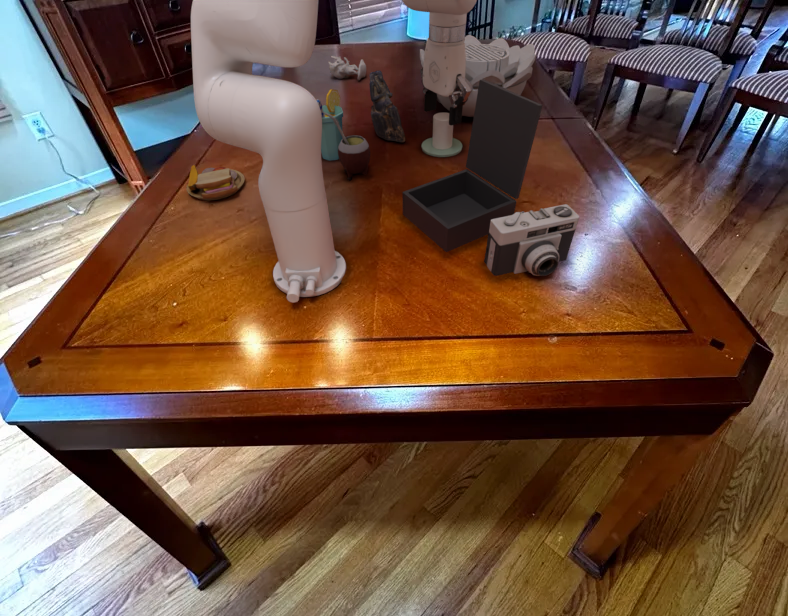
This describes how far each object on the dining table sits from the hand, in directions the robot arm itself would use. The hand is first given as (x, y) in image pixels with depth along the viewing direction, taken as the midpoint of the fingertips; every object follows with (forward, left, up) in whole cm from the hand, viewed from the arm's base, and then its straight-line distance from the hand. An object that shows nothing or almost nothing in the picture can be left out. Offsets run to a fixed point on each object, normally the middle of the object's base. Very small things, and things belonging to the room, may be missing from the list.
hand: (442, 117), depth 105 cm
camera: (-47, -11, -8) cm, 49 cm away
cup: (-3, +27, -8) cm, 28 cm away
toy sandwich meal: (-16, +51, -8) cm, 54 cm away
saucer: (0, 0, -8) cm, 8 cm away
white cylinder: (+1, 0, -7) cm, 7 cm away
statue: (+7, +13, -8) cm, 17 cm away
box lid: (-27, -7, +7) cm, 29 cm away
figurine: (+52, +26, -8) cm, 59 cm away
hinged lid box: (-32, 0, -8) cm, 32 cm away
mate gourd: (-12, +21, -8) cm, 25 cm away
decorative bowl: (+22, -12, -8) cm, 27 cm away
